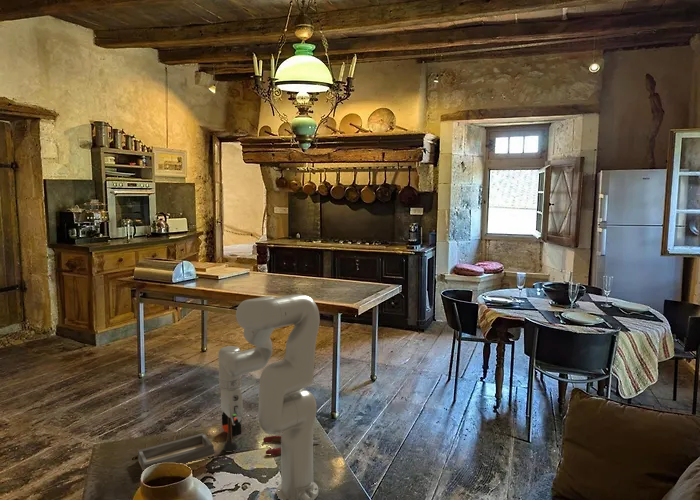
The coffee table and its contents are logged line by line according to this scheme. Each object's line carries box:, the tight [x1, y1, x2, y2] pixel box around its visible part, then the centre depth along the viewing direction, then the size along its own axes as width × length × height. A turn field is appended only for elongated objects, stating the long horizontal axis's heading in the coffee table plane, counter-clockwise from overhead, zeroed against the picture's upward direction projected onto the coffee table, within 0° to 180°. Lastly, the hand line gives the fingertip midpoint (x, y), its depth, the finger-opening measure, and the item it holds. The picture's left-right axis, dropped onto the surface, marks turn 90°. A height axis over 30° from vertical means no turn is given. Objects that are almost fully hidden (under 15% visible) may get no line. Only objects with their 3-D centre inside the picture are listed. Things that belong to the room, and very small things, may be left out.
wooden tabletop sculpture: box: [223, 417, 238, 451], centre depth 173 cm, size 6×5×20 cm
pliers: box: [262, 435, 322, 456], centre depth 177 cm, size 12×20×3 cm, turn 105°
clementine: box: [221, 414, 243, 434], centre depth 186 cm, size 8×7×7 cm
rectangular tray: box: [137, 432, 215, 471], centre depth 167 cm, size 12×22×4 cm, turn 124°
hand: (231, 429), depth 173 cm, fingers open, 9 cm apart
